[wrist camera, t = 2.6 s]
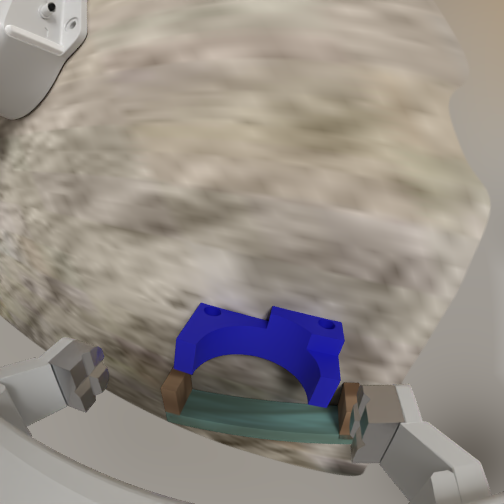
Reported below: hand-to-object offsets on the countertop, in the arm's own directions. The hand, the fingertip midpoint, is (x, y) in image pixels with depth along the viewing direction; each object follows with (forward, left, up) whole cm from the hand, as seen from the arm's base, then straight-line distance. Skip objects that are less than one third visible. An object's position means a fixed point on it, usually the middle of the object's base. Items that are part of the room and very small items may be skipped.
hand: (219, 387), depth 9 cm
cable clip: (+8, 0, -17) cm, 19 cm away
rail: (+16, 0, -16) cm, 23 cm away
